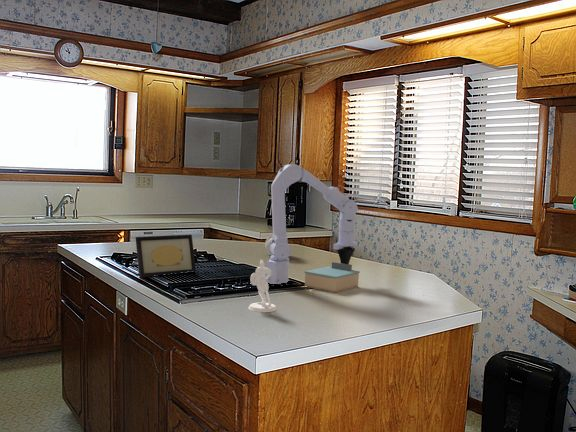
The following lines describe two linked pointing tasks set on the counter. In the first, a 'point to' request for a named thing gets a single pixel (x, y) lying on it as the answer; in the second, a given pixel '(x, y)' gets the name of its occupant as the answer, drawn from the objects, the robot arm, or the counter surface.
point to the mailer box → (331, 282)
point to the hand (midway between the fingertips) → (344, 266)
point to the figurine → (262, 289)
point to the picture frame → (165, 255)
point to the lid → (334, 270)
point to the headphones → (268, 243)
